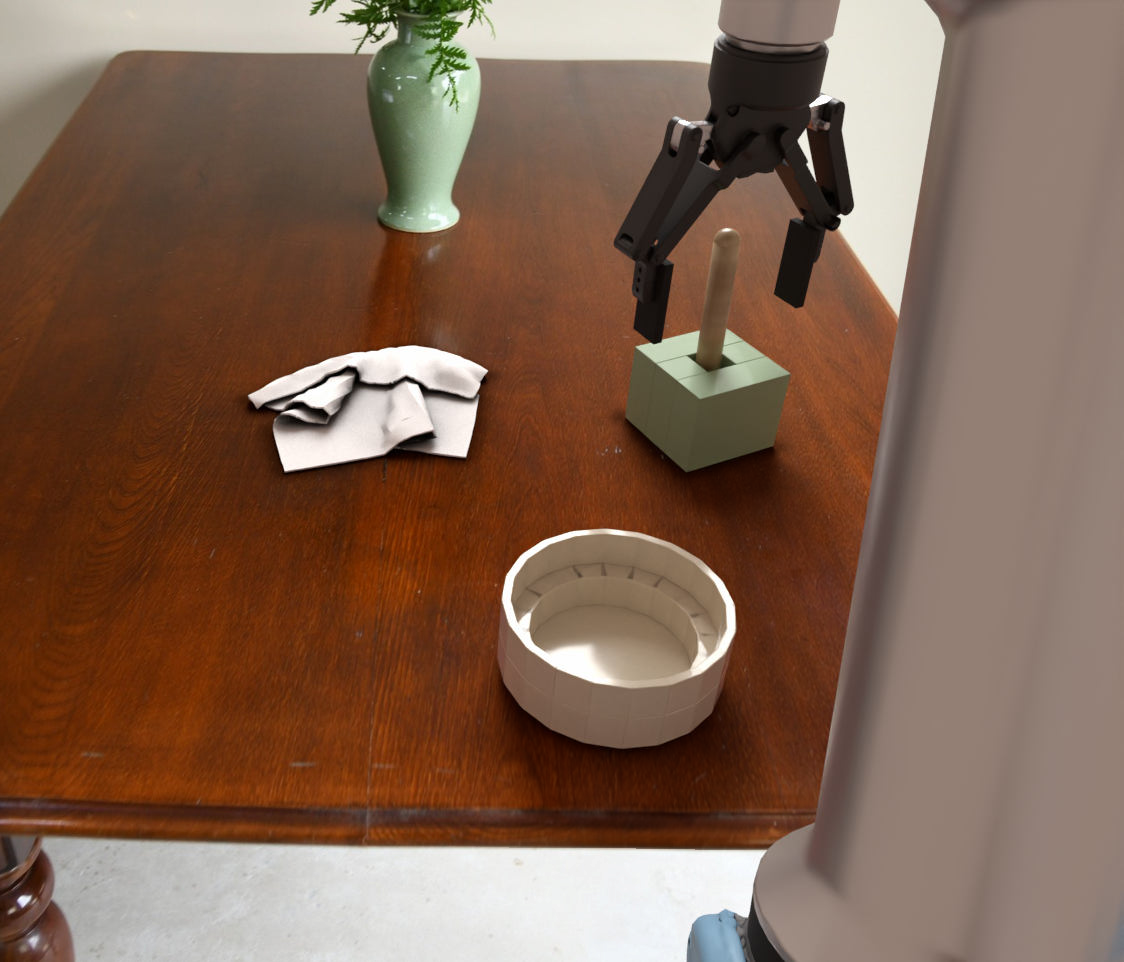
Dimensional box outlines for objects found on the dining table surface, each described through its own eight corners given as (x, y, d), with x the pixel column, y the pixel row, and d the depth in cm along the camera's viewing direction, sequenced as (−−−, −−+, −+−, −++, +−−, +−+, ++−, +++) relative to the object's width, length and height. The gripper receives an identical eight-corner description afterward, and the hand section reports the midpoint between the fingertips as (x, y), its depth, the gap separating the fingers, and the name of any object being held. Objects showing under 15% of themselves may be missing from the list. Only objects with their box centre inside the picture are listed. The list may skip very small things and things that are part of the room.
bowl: (766, 710, 70) (785, 641, 67) (571, 788, 66) (581, 719, 62) (636, 573, 81) (647, 507, 77) (460, 631, 76) (462, 564, 72)
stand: (773, 446, 93) (791, 373, 89) (686, 472, 90) (700, 399, 86) (708, 394, 100) (721, 324, 96) (624, 417, 97) (634, 346, 93)
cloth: (509, 364, 104) (511, 341, 102) (444, 504, 87) (445, 478, 86) (303, 331, 109) (301, 309, 107) (203, 457, 92) (200, 432, 91)
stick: (714, 433, 95) (748, 231, 84) (694, 439, 94) (726, 236, 84) (699, 422, 96) (731, 221, 86) (680, 427, 96) (709, 226, 85)
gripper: (874, 3, 83) (811, 268, 95) (584, 45, 74) (557, 328, 87) (954, 29, 77) (876, 306, 90) (650, 77, 69) (611, 375, 82)
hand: (719, 318), depth 89 cm, fingers open, 13 cm apart
